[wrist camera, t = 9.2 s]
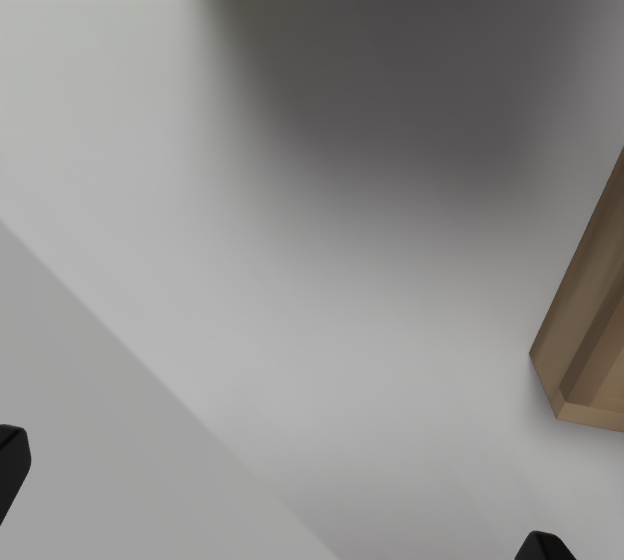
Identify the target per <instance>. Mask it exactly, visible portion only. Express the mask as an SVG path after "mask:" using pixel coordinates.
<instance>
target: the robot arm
mask: <svg viewBox="0 0 624 560" xmlns="http://www.w3.org/2000/svg"><path fill="white" fill-rule="evenodd" d="M30 466H31V454H30V448H29V443H28V437H27V433H26V431H25V430H24V428H21V427H16V426H12V425H6V424H2V425H0V525H1V524H2V522H3V520H4V518H5V516H6V514H7V512H8V510H9V508H10V506H11V505H12V503H13V501H14V499H15V497H16V495H17V493H18V491H19V489H20V487H21V485H22V483H23V481H24V480H25V478H26V476H27V474H28V472H29V469H30ZM515 560H576V558H575V557H574V556H573V555H572V553H571V552H570V551H569V549H568V548H567V547H566V546H565V544H564V543H563V542H562V540H561V539H560V538H559V537H557V536H556V535H554V534H550V533H545V532H540V531H532V532H530V533H529V535H528V536H527V538H526V540H525V541H524V543H523V545H522V546H521V548H520V550H519V552H518V553H517V555H516V557H515Z"/></svg>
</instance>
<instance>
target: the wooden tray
mask: <svg viewBox="0 0 624 560" xmlns="http://www.w3.org/2000/svg"><path fill="white" fill-rule="evenodd" d="M529 354H530V356H531V358H532V361H533V363H534V366H535V368H536V371H537V373H538V375H539V378H540V380H541V383H542V385H543V388H544V390H545V393H546V395H547V397H548V400H549V402H550V405H551V407H552V410H553V412H554V414H555V417H556V419H558V420H563V421H568V422H574V423H579V424H584V425H589V426H594V427H599V428H604V429H609V430H614V431H620V432H624V148H623V150H622V152H621V154H620V157H619V159H618V161H617V163H616V165H615V168H614V170H613V172H612V174H611V176H610V178H609V181H608V183H607V185H606V187H605V189H604V191H603V194H602V196H601V198H600V200H599V202H598V204H597V207H596V209H595V211H594V213H593V215H592V217H591V220H590V222H589V224H588V226H587V228H586V230H585V233H584V235H583V237H582V239H581V241H580V243H579V246H578V248H577V250H576V252H575V254H574V257H573V259H572V261H571V263H570V265H569V267H568V270H567V272H566V274H565V276H564V278H563V280H562V283H561V285H560V287H559V289H558V291H557V293H556V296H555V298H554V300H553V302H552V304H551V306H550V309H549V311H548V313H547V315H546V317H545V319H544V322H543V324H542V326H541V328H540V330H539V332H538V335H537V337H536V339H535V341H534V343H533V345H532V348H531V350H530V352H529Z"/></svg>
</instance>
